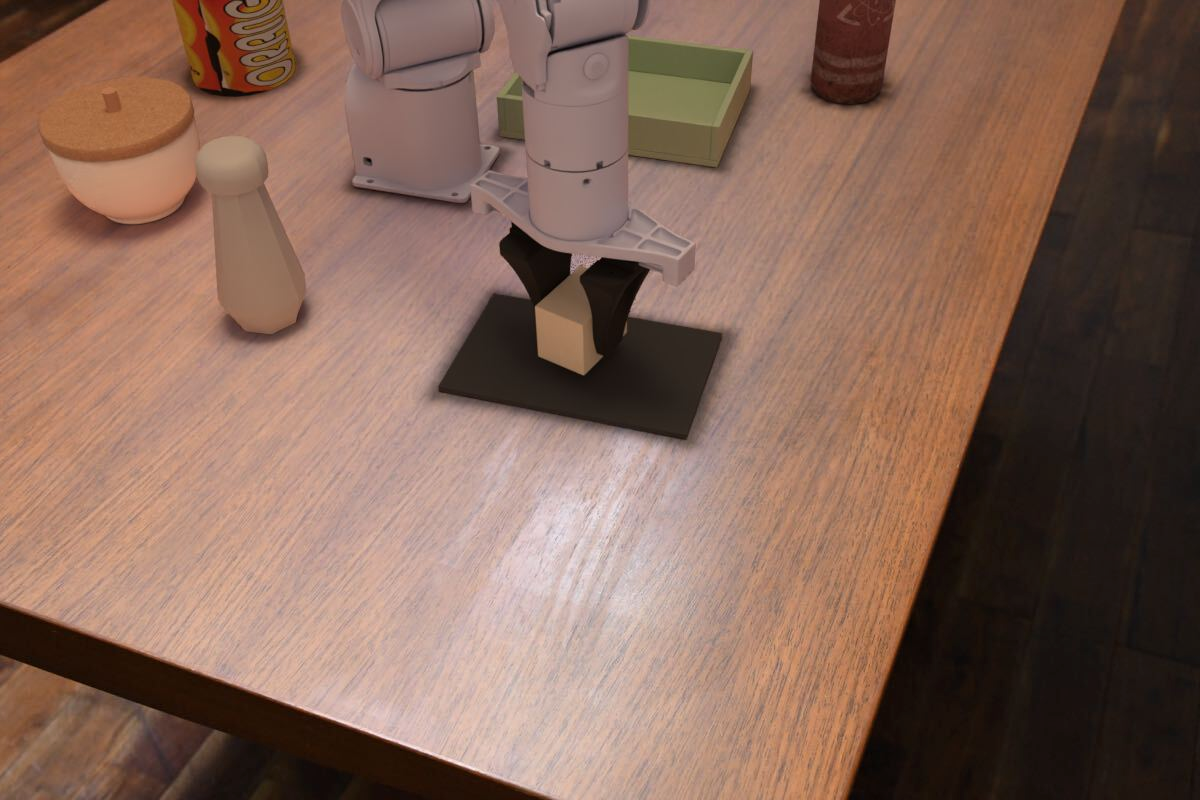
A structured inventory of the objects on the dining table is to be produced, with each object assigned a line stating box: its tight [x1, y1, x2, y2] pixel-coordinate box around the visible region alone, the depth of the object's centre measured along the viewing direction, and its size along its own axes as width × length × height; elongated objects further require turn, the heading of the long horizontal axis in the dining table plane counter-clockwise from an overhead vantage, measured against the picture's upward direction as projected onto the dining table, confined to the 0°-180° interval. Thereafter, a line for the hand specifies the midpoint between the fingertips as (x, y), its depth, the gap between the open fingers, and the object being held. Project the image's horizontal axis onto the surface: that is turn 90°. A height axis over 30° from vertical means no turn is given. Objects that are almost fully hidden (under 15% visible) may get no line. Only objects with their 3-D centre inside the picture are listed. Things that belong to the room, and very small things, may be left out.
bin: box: [496, 34, 754, 168], centre depth 101 cm, size 18×13×4 cm
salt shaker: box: [195, 134, 307, 335], centre depth 78 cm, size 6×6×13 cm
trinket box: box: [37, 76, 201, 225], centre depth 89 cm, size 11×11×9 cm
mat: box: [437, 292, 723, 440], centre depth 78 cm, size 16×10×1 cm, turn 73°
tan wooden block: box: [535, 265, 627, 375], centre depth 75 cm, size 4×5×4 cm
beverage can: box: [171, 0, 296, 97], centre depth 104 cm, size 9×9×12 cm
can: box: [810, 0, 897, 105], centre depth 100 cm, size 6×6×14 cm
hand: (582, 335), depth 76 cm, fingers closed on tan wooden block, 3 cm apart
